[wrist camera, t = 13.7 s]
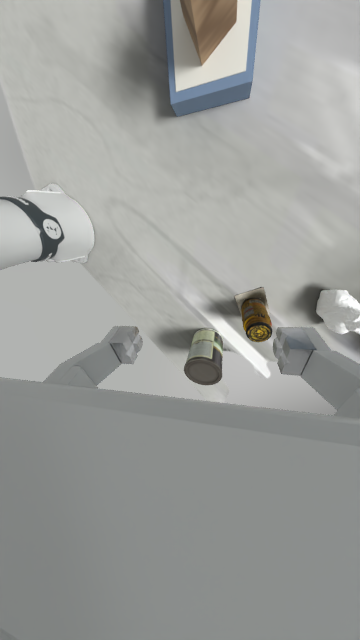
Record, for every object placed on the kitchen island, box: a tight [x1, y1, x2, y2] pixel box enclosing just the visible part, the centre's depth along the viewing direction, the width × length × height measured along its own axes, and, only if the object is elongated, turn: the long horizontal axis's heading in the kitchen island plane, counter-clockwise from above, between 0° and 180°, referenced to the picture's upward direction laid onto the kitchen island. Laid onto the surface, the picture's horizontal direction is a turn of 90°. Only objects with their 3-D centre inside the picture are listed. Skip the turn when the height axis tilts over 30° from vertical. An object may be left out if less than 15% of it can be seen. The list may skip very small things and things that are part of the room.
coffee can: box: [184, 328, 223, 385], centre depth 49 cm, size 10×10×14 cm
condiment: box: [235, 287, 272, 342], centre depth 39 cm, size 7×8×12 cm
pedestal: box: [163, 0, 260, 117], centre depth 22 cm, size 12×12×4 cm
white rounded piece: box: [316, 289, 360, 334], centre depth 35 cm, size 12×8×11 cm
